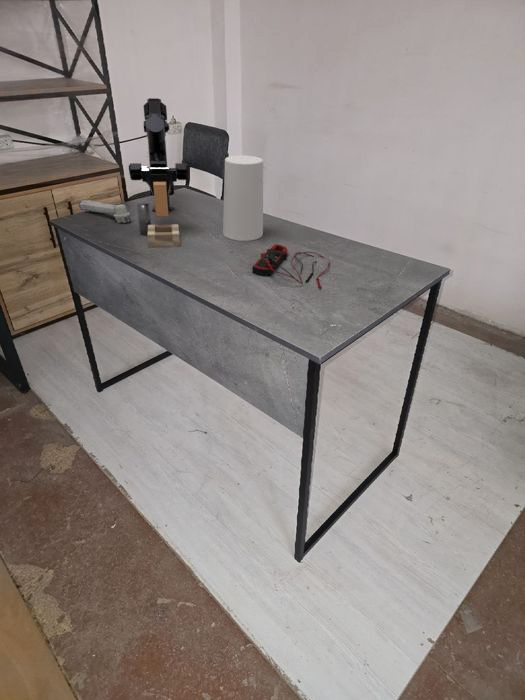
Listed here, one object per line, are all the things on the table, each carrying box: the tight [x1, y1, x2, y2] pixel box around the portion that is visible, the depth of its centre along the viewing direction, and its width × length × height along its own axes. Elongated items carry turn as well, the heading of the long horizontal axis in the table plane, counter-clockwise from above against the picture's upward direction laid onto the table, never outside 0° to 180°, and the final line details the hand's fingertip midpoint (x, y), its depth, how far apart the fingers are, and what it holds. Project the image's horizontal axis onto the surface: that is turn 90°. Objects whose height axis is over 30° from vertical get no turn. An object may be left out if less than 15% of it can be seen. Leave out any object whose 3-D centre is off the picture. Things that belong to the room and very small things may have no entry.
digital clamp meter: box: [252, 244, 331, 293], centre depth 140 cm, size 23×4×25 cm
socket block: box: [147, 223, 181, 248], centre depth 154 cm, size 10×10×4 cm
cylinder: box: [222, 154, 264, 242], centre depth 157 cm, size 14×25×14 cm
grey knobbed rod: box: [78, 199, 131, 224], centre depth 173 cm, size 5×7×25 cm
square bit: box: [153, 182, 169, 217], centre depth 152 cm, size 4×4×10 cm
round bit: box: [136, 202, 152, 237], centre depth 157 cm, size 4×4×10 cm
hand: (160, 195), depth 150 cm, fingers closed on square bit, 4 cm apart
